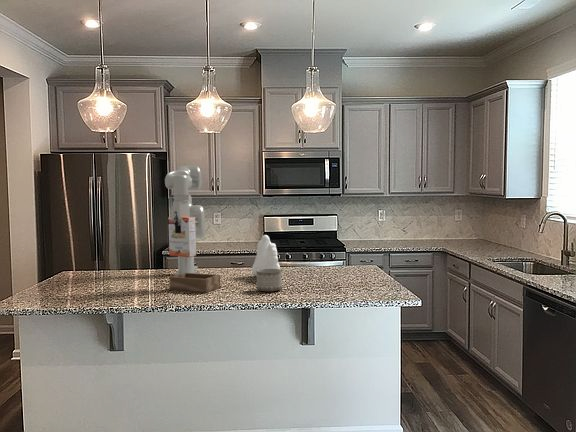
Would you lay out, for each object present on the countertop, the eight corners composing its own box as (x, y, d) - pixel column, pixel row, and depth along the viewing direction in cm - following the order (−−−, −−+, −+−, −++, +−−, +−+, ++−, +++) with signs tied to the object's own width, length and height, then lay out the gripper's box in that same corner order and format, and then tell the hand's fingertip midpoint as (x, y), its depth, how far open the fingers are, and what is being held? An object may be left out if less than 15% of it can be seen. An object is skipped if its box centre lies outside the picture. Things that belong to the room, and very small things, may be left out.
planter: (258, 293, 256) (258, 273, 255) (255, 288, 268) (254, 269, 267) (283, 292, 258) (283, 271, 258) (279, 287, 271) (278, 267, 270)
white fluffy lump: (251, 275, 307) (250, 234, 305) (277, 274, 309) (276, 233, 308) (255, 283, 282) (254, 238, 280) (283, 282, 285) (283, 237, 283)
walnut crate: (185, 285, 279) (185, 272, 279) (220, 288, 271) (220, 274, 270) (170, 290, 267) (169, 277, 266) (206, 293, 258) (206, 279, 258)
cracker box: (168, 256, 272) (167, 216, 271) (176, 254, 277) (175, 216, 276) (189, 257, 265) (188, 217, 264) (196, 256, 270) (195, 216, 269)
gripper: (184, 198, 279) (185, 231, 280) (165, 199, 263) (166, 233, 264) (196, 198, 276) (197, 231, 277) (177, 199, 260) (178, 234, 261)
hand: (182, 232), depth 270 cm, fingers closed on cracker box, 6 cm apart
